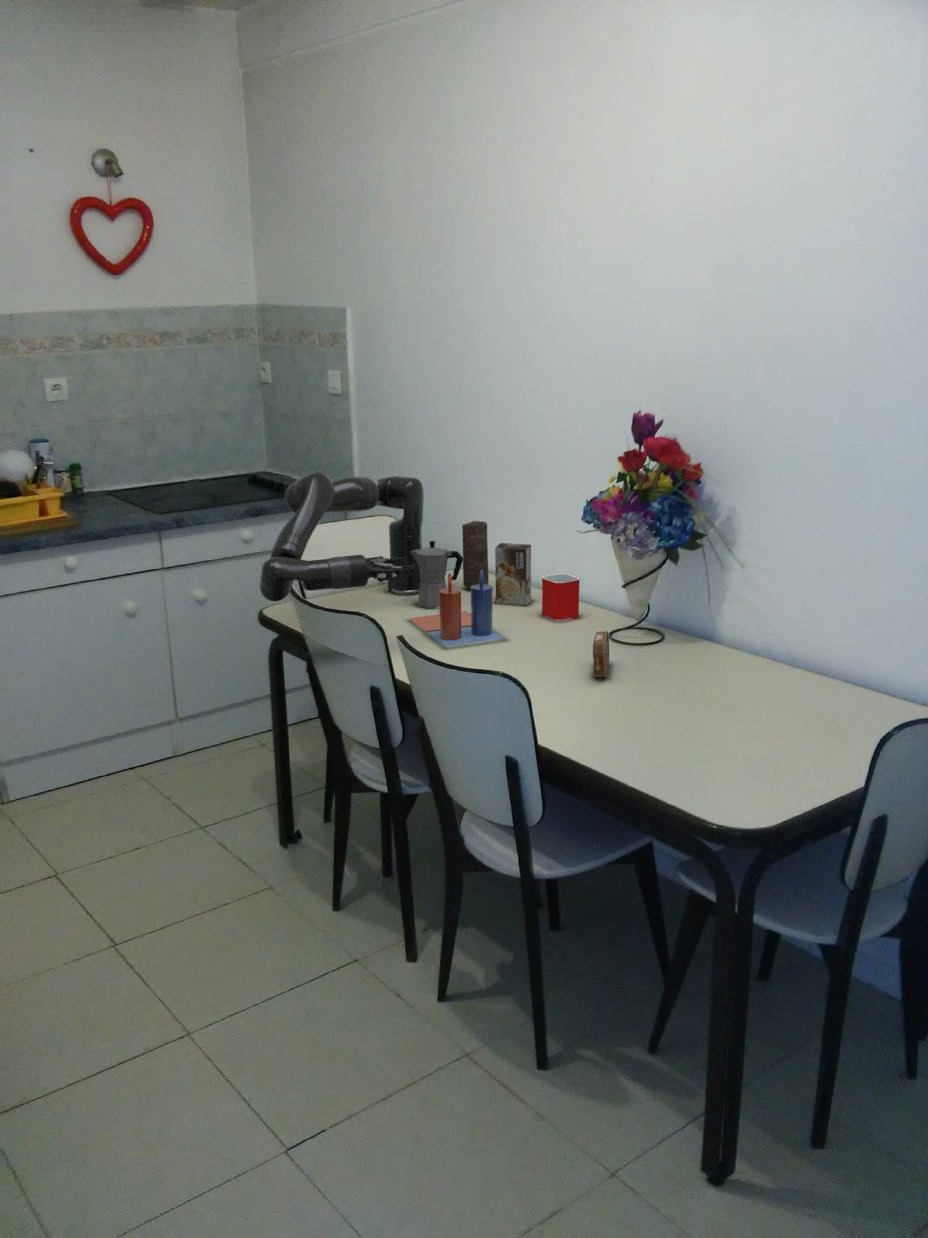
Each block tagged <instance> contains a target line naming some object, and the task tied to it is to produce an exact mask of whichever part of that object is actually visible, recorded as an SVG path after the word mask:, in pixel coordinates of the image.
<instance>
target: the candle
mask: <svg viewBox="0 0 928 1238" xmlns="http://www.w3.org/2000/svg"><path fill="white" fill-rule="evenodd" d="M461 525H462V527H461V528H462V529H461V530H462V558H463V562H462V579H463V581H462V582H463V587H465V588H467V589H470V590H471V586H473V585H477V584H480V570H483V584H486V585H490V584H489V581H490V580H489V556H488V555H489V553H488V551H489V550H488V548H489V547H488V522H486V521H481V520H472V521H470V522H467V523H464V524H463V523H462V524H461Z"/></svg>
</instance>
